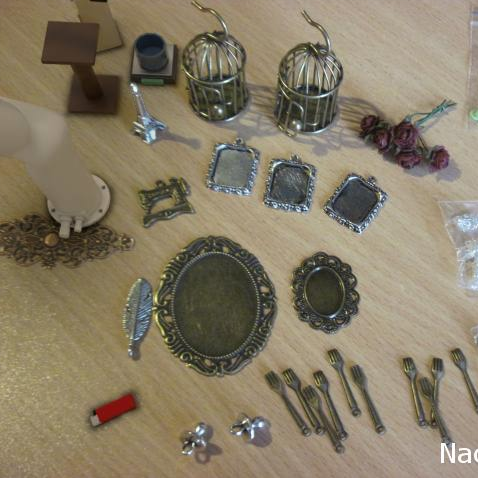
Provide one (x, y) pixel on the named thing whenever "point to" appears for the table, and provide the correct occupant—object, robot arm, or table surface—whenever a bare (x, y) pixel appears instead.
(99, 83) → the stand
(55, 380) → the table surface
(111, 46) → the beige tall block
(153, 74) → the scale
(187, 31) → the table surface
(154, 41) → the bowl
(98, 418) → the lighter
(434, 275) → the table surface
